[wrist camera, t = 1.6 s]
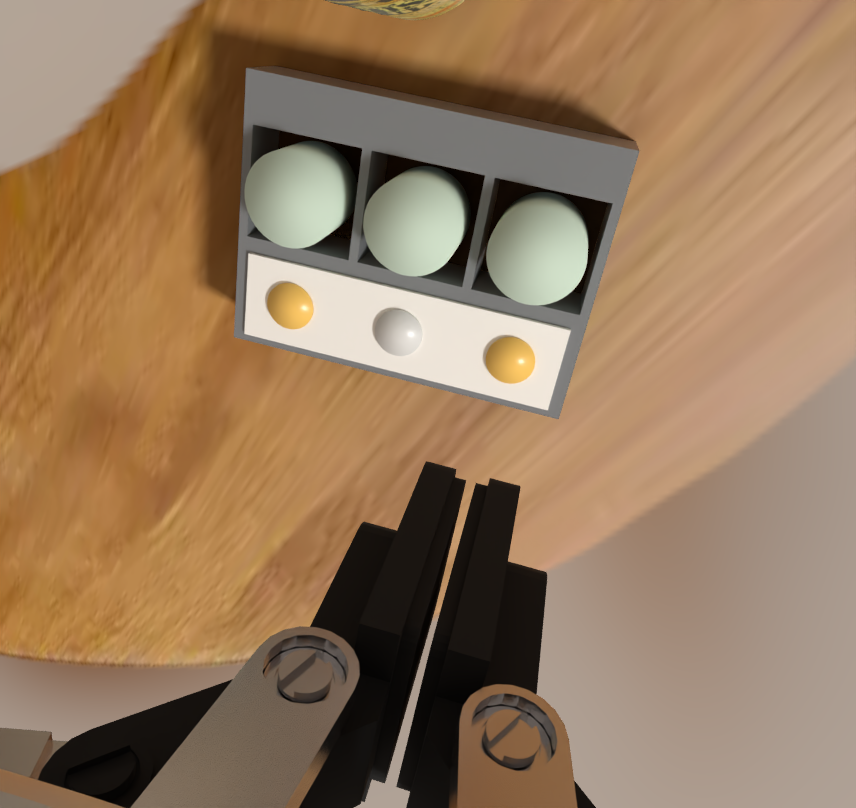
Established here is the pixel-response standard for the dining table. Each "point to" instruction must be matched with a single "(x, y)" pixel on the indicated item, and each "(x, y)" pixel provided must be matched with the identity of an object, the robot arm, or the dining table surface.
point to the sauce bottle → (403, 7)
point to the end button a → (300, 193)
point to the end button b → (538, 249)
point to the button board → (446, 287)
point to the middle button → (417, 221)
